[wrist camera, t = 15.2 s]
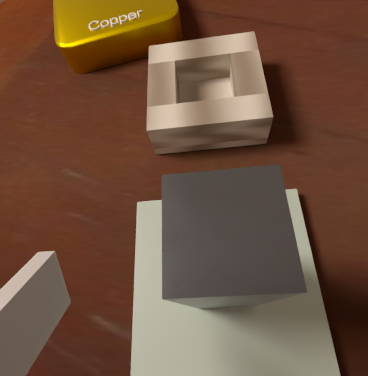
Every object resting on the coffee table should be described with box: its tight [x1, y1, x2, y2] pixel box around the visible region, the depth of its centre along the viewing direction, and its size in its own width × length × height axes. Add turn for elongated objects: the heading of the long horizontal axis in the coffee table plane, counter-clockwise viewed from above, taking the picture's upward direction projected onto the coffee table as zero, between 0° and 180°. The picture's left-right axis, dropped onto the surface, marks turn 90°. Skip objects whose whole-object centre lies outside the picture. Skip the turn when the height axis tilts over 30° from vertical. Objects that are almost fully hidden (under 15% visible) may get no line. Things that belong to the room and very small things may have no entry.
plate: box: [131, 189, 340, 376], centre depth 21 cm, size 14×14×1 cm
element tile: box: [53, 0, 183, 74], centre depth 36 cm, size 15×15×5 cm
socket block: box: [147, 32, 273, 154], centre depth 28 cm, size 11×11×4 cm
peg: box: [162, 164, 307, 309], centre depth 15 cm, size 4×4×14 cm
